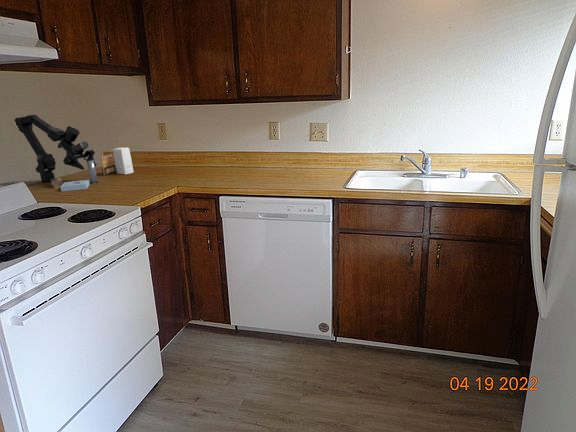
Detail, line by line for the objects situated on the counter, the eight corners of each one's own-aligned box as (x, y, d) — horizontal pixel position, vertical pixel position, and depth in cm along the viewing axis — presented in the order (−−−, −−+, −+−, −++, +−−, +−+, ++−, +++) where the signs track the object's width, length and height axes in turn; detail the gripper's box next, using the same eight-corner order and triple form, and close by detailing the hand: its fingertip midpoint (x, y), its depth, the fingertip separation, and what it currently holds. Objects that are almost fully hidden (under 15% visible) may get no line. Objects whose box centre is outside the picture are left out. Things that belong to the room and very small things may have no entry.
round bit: (90, 183, 232) (86, 161, 229) (91, 182, 236) (87, 160, 232) (97, 183, 233) (93, 160, 230) (98, 182, 237) (94, 159, 233)
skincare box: (134, 172, 259) (130, 147, 255) (125, 174, 254) (120, 149, 249) (125, 172, 264) (121, 147, 259) (116, 174, 258) (111, 148, 254)
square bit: (63, 187, 229) (61, 179, 228) (55, 188, 227) (53, 181, 226) (60, 184, 236) (58, 177, 235) (52, 185, 234) (50, 178, 233)
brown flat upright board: (105, 175, 254) (102, 156, 250) (102, 175, 254) (99, 156, 251) (116, 172, 264) (113, 153, 260) (114, 172, 264) (111, 153, 261)
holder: (61, 191, 217) (60, 186, 216) (65, 186, 228) (64, 182, 227) (86, 188, 220) (85, 184, 220) (89, 184, 231) (88, 179, 231)
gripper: (62, 139, 221) (83, 160, 220) (89, 135, 238) (108, 154, 237) (54, 154, 225) (74, 175, 225) (80, 149, 242) (99, 168, 242)
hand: (90, 167), depth 232 cm, fingers open, 9 cm apart
